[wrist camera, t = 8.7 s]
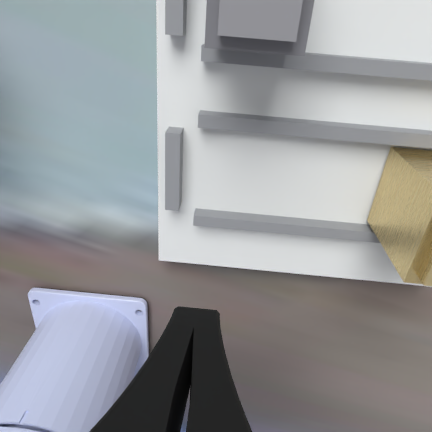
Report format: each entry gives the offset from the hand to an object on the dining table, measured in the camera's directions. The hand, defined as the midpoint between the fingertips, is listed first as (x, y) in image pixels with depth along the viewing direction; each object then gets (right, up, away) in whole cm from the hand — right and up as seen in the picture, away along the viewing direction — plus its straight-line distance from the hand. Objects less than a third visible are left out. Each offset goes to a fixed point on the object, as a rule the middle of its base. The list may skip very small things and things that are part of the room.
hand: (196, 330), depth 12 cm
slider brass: (+10, +5, +6) cm, 13 cm away
